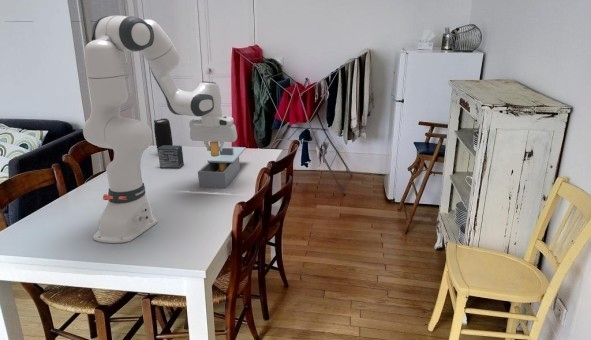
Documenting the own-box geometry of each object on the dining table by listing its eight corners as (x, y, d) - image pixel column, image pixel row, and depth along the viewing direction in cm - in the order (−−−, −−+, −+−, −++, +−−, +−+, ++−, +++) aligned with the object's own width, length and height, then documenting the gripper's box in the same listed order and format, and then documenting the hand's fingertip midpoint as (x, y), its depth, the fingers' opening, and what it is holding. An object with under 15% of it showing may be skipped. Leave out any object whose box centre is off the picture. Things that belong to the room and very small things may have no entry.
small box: (184, 164, 211) (182, 145, 207) (180, 168, 205) (177, 148, 201) (164, 164, 212) (162, 144, 208) (159, 168, 206) (156, 148, 202)
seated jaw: (226, 176, 190) (225, 164, 188) (218, 176, 191) (217, 164, 189) (228, 173, 194) (227, 161, 192) (221, 173, 194) (220, 161, 192)
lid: (232, 163, 186) (232, 155, 184) (207, 162, 188) (206, 154, 186) (245, 148, 206) (245, 141, 205) (222, 148, 208) (222, 140, 207)
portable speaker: (168, 151, 232) (163, 117, 226) (177, 154, 226) (173, 119, 220) (154, 154, 226) (149, 120, 220) (163, 158, 221) (158, 122, 214)
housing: (226, 190, 177) (224, 173, 175) (199, 189, 179) (197, 171, 177) (240, 172, 198) (239, 156, 195) (216, 171, 200) (214, 156, 197)
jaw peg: (220, 154, 181) (219, 141, 179) (217, 156, 178) (216, 143, 176) (212, 153, 182) (211, 140, 180) (209, 156, 178) (208, 143, 176)
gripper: (185, 120, 173) (189, 152, 178) (232, 121, 170) (235, 153, 175) (191, 117, 179) (194, 147, 184) (237, 118, 176) (239, 149, 180)
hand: (214, 150), depth 179 cm, fingers closed on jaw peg, 4 cm apart
